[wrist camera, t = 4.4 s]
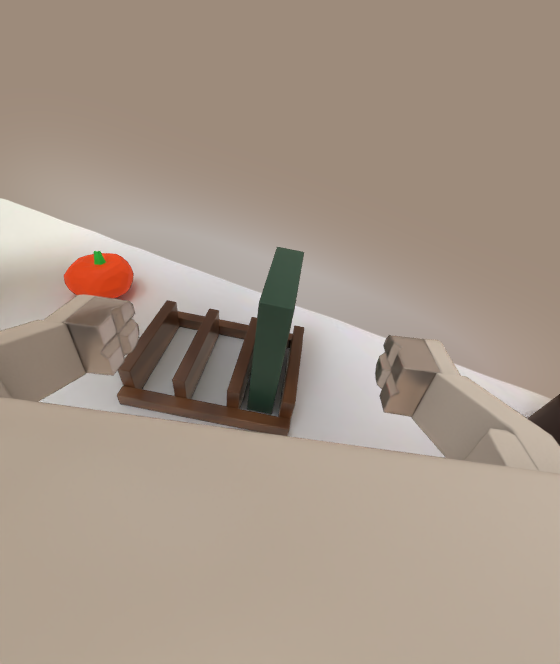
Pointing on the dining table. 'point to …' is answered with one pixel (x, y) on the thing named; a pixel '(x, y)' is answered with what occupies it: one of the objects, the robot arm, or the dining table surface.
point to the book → (273, 328)
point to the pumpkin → (99, 275)
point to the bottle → (549, 418)
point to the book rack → (193, 365)
